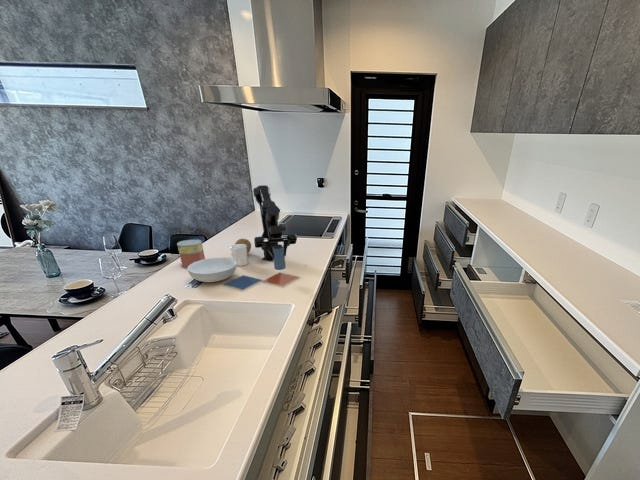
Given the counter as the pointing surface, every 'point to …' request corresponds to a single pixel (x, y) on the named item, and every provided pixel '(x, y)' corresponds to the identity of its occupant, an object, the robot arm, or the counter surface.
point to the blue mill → (279, 257)
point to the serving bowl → (212, 269)
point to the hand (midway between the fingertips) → (279, 256)
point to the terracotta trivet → (280, 279)
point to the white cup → (239, 254)
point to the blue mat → (242, 282)
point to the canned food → (190, 251)
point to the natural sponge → (246, 242)
